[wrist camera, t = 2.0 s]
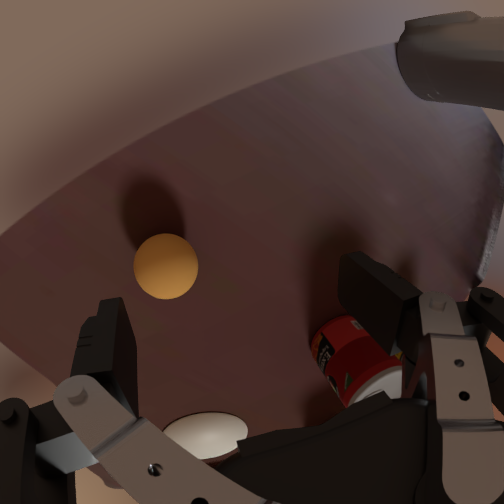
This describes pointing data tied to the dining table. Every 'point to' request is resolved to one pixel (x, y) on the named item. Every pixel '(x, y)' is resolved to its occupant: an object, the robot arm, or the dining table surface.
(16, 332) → the dining table surface
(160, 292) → the ball
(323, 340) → the canned food
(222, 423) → the disc
